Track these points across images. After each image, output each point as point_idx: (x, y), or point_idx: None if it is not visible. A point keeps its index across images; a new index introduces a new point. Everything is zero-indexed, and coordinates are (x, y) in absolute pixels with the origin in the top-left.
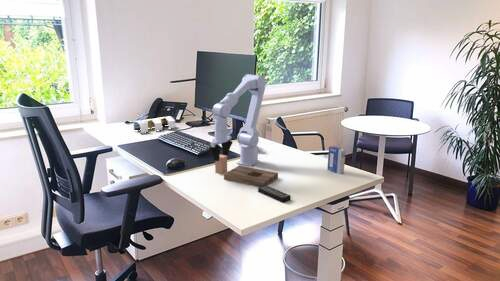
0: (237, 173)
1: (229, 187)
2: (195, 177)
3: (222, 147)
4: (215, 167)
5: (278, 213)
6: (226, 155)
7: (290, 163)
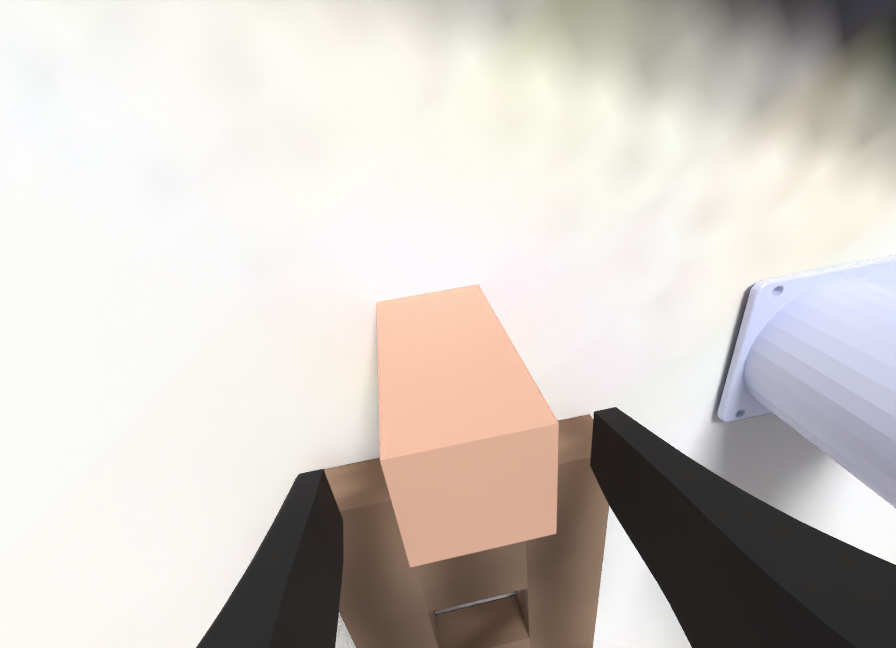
0: (404, 567)
1: (218, 588)
2: (44, 233)
3: (721, 544)
4: (377, 340)
5: None
6: (600, 475)
7: (857, 527)
